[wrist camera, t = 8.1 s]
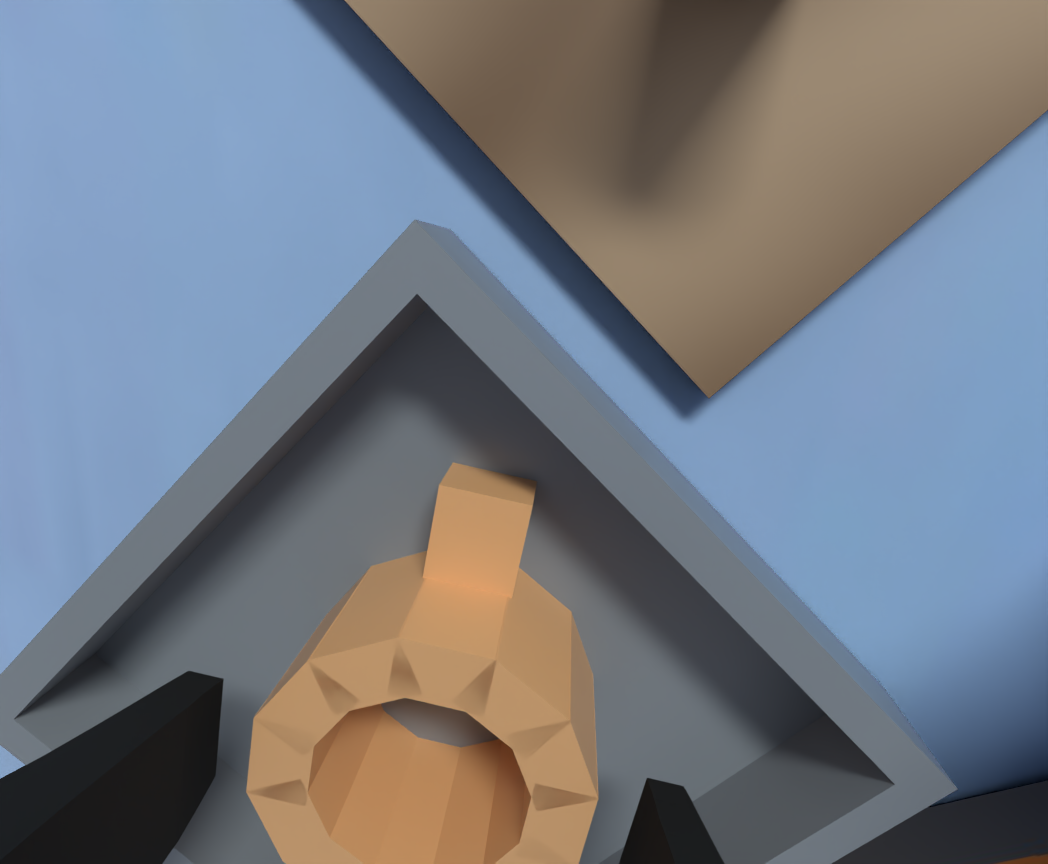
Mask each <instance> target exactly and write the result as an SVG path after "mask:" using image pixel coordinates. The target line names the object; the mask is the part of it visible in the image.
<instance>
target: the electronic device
mask: <svg viewBox="0 0 1048 864" xmlns="http://www.w3.org/2000/svg"><path fill="white" fill-rule="evenodd" d="M831 864H1048V781H1043V782H1039V783H1035V784H1030V785H1026V786H1021V787H1017V788H1013V789H1008V790H1004V791H999V792H995V793H991V794H986V795H982V796H977V797H973V798H969V799H964V800H960V801H955V802H951V803H947V804H942V805H938V806H933V807H929V808H925V809H923V810H922V811H920V812H918V813H917V814H915V815H913V816H911V817H910V818H908V819H906V820H905V821H903V822H901V823H900V824H898V825H896V826H894V827H893V828H891V829H889V830H888V831H886V832H884V833H883V834H881V835H879V836H877V837H876V838H874V839H872V840H871V841H869V842H867V843H866V844H864V845H862V846H860V847H859V848H857V849H855V850H854V851H852V852H850V853H848V854H847V855H845V856H843V857H842V858H840V859H838V860H837V861H835V862H833V863H831Z"/></svg>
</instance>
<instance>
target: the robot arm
mask: <svg viewBox="0 0 1048 864" xmlns="http://www.w3.org/2000/svg"><path fill="white" fill-rule="evenodd" d="M223 681H224V679H223V678H218V677H214V676H210V675H206V674H201V673H197V672H193V671H187V672H185V673H184V674H182V675H180V676H178V677H177V678H175V679H173V680H171V681H170V682H168V683H166V684H165V685H163V686H161V687H160V688H158V689H156V690H155V691H153V692H151V693H149V694H148V695H146V696H144V697H143V698H141V699H139V700H138V701H136V702H134V703H133V704H131V705H129V706H128V707H126V708H124V709H123V710H121V711H119V712H118V713H116V714H114V715H113V716H111V717H109V718H108V719H106V720H104V721H103V722H101V723H99V724H97V725H96V726H94V727H92V728H91V729H89V730H87V731H85V732H84V733H82V734H80V735H78V736H77V737H75V738H73V739H71V740H70V741H68V742H66V743H65V744H63V745H61V746H59V747H58V748H56V749H54V750H52V751H51V752H49V753H47V754H45V755H44V756H42V757H40V758H38V759H36V760H35V761H33V762H31V763H29V764H27V765H25V766H23V767H21V768H20V769H18V770H16V771H14V772H12V773H10V774H8V775H6V776H5V777H3V778H1V779H0V864H163V862H164V861H165V859H166V858H167V856H168V855H169V854H170V852H171V851H172V849H173V848H174V846H175V845H176V844H177V842H178V841H179V839H180V837H181V836H182V834H183V832H184V831H185V829H186V827H187V825H188V824H189V822H190V820H191V819H192V817H193V815H194V814H195V812H196V810H197V808H198V806H199V805H200V803H201V801H202V799H203V798H204V796H205V794H206V792H207V790H208V789H209V787H210V785H211V783H212V781H213V780H214V778H215V776H216V765H217V753H218V741H219V729H220V717H221V705H222V693H223ZM619 864H725V863H724V861H723V860H722V858H721V856H720V854H719V852H718V850H717V848H716V846H715V845H714V843H713V841H712V839H711V837H710V835H709V833H708V831H707V829H706V827H705V825H704V823H703V822H702V820H701V818H700V816H699V814H698V812H697V810H696V808H695V806H694V804H693V802H692V800H691V798H690V796H689V795H688V793H687V791H686V789H685V788H684V786H681V785H677V784H672V783H668V782H664V781H660V780H655V779H651V778H647V779H646V782H645V785H644V788H643V791H642V794H641V797H640V800H639V803H638V806H637V809H636V813H635V816H634V819H633V822H632V825H631V828H630V831H629V834H628V837H627V840H626V843H625V846H624V849H623V852H622V855H621V858H620V862H619Z"/></svg>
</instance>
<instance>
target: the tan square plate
mask: <svg viewBox="0 0 1048 864" xmlns="http://www.w3.org/2000/svg"><path fill="white" fill-rule="evenodd" d="M344 1H345V2H346V3H347V4H348V5H349V6H350V7H351V8H352V9H353V11H354V12H355V13H356V14H357V15H358V16H359V17H360V18H361V19H362V20H363V21H364V23H365V24H366V25H367V26H368V27H369V28H370V29H371V30H372V31H373V32H374V33H375V35H376V36H377V37H378V38H379V39H380V40H381V41H382V42H383V43H384V44H385V45H386V47H387V48H388V49H389V50H390V51H391V52H392V53H393V54H394V55H395V56H396V57H397V59H398V60H399V61H400V62H401V63H402V64H403V65H404V66H405V67H406V68H407V69H408V71H409V72H410V73H411V74H412V75H413V76H414V77H415V78H416V79H417V80H418V82H419V83H420V84H421V85H422V86H423V87H424V88H425V89H426V90H427V91H428V92H429V94H430V95H431V96H432V97H433V98H434V99H435V100H436V101H437V102H438V103H439V104H440V106H441V107H442V108H443V109H444V110H445V111H446V112H447V113H448V114H449V115H450V116H451V118H452V119H453V120H454V121H455V122H456V123H457V124H458V125H459V126H460V127H461V128H462V130H463V131H464V132H465V133H466V134H467V135H468V136H469V137H470V138H471V139H472V140H473V142H474V143H475V144H476V145H477V146H478V147H479V148H480V149H481V150H482V151H483V153H484V154H485V155H486V156H487V157H488V158H489V159H490V160H491V161H492V162H493V163H494V165H495V166H496V167H497V168H498V169H499V170H500V171H501V172H502V173H503V174H504V175H505V177H506V178H507V179H508V180H509V181H510V182H511V183H512V184H513V185H514V186H515V187H516V189H517V190H518V191H519V192H520V193H521V194H522V195H523V196H524V197H525V198H526V199H527V201H528V202H529V203H530V204H531V205H532V206H533V207H534V208H535V209H536V210H537V211H538V213H539V214H540V215H541V216H542V217H543V218H544V219H545V220H546V221H547V222H548V223H549V225H550V226H551V227H552V228H553V229H554V230H555V231H556V232H557V233H558V234H559V236H560V237H561V238H562V239H563V240H564V241H565V242H566V243H567V244H568V245H569V246H570V248H571V249H572V250H573V251H574V252H575V253H576V254H577V255H578V256H579V257H580V258H581V260H582V261H583V262H584V263H585V264H586V265H587V266H588V267H589V268H590V269H591V270H592V272H593V273H594V274H595V275H596V276H597V277H598V278H599V279H600V280H601V281H602V282H603V284H604V285H605V286H606V287H607V288H608V289H609V290H610V291H611V292H612V293H613V294H614V296H615V297H616V298H617V299H618V300H619V301H620V302H621V303H622V304H623V305H624V306H625V308H626V309H627V310H628V311H629V312H630V313H631V314H632V315H633V316H634V317H635V319H636V320H637V321H638V322H639V323H640V324H641V325H642V326H643V327H644V328H645V329H646V331H647V332H648V333H649V334H650V335H651V336H652V337H653V338H654V339H655V340H656V341H657V343H658V344H659V345H660V346H661V347H662V348H663V349H664V350H665V351H666V352H667V353H668V355H669V356H670V357H671V358H672V359H673V360H674V361H675V362H676V363H677V364H678V365H679V367H680V368H681V369H682V370H683V371H684V372H685V373H686V374H687V375H688V376H689V377H690V379H691V380H692V381H693V382H694V383H695V384H696V385H697V386H698V387H699V388H700V390H701V391H702V392H703V393H704V394H705V395H706V396H707V397H708V398H710V397H711V396H712V395H714V394H715V393H716V392H717V391H718V390H719V389H721V388H722V387H723V386H724V385H725V384H726V383H728V382H729V381H730V380H731V379H732V378H733V377H735V376H736V375H737V374H738V373H739V372H741V371H742V370H743V369H744V368H745V367H746V366H748V365H749V364H750V363H751V362H752V361H753V360H755V359H756V358H757V357H758V356H759V355H760V354H762V353H763V352H764V351H765V350H766V349H768V348H769V347H770V346H771V345H772V344H773V343H775V342H776V341H777V340H778V339H779V338H780V337H782V336H783V335H784V334H785V333H786V332H788V331H789V330H790V329H791V328H792V327H793V326H795V325H796V324H797V323H798V322H799V321H800V320H802V319H803V318H804V317H805V316H806V315H807V314H809V313H810V312H811V311H812V310H813V309H815V308H816V307H817V306H818V305H819V304H820V303H822V302H823V301H824V300H825V299H826V298H827V297H829V296H830V295H831V294H832V293H833V292H834V291H836V290H837V289H838V288H839V287H840V286H842V285H843V284H844V283H845V282H846V281H847V280H849V279H850V278H851V277H852V276H853V275H854V274H856V273H857V272H858V271H859V270H860V269H861V268H863V267H864V266H865V265H866V264H867V263H869V262H870V261H871V260H872V259H873V258H874V257H876V256H877V255H878V254H879V253H880V252H881V251H883V250H884V249H885V248H886V247H887V246H888V245H890V244H891V243H892V242H893V241H894V240H896V239H897V238H898V237H899V236H900V235H901V234H903V233H904V232H905V231H906V230H907V229H908V228H910V227H911V226H912V225H913V224H914V223H915V222H917V221H918V220H919V219H920V218H921V217H923V216H924V215H925V214H926V213H927V212H928V211H930V210H931V209H932V208H933V207H934V206H935V205H937V204H938V203H939V202H940V201H941V200H942V199H944V198H945V197H946V196H947V195H948V194H950V193H951V192H952V191H953V190H954V189H955V188H957V187H958V186H959V185H960V184H961V183H962V182H964V181H965V180H966V179H967V178H968V177H969V176H971V175H972V174H973V173H974V172H975V171H977V170H978V169H979V168H980V167H981V166H982V165H984V164H985V163H986V162H987V161H988V160H989V159H991V158H992V157H993V156H994V155H995V154H997V153H998V152H999V151H1000V150H1001V149H1002V148H1004V147H1005V146H1006V145H1007V144H1008V143H1009V142H1011V141H1012V140H1013V139H1014V138H1015V137H1016V136H1018V135H1019V134H1020V133H1021V132H1022V131H1024V130H1025V129H1026V128H1027V127H1028V126H1029V125H1031V124H1032V123H1033V122H1034V121H1035V120H1036V119H1038V118H1039V117H1040V116H1041V115H1042V114H1043V113H1045V112H1046V111H1047V110H1048V0H344Z"/></svg>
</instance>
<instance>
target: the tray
mask: <svg viewBox="0 0 1048 864" xmlns="http://www.w3.org/2000/svg"><path fill="white" fill-rule="evenodd" d="M452 463H458V464H462V465H467V466H471V467H476V468H480V469H485V470H489V471H493V472H498V473H502V474H507V475H511V476H516V477H520V478H525V479H529V480H534V481H537V484H536V490H535V496H534V502H533V507H532V511H531V516H530V520H529V525H528V529H527V533H526V538H525V542H524V547H523V551H522V555H521V560H520V564H519V568H521V569H522V570H523V571H524V572H525V573H526V574H528V575H529V576H530V577H531V578H532V579H533V580H535V581H536V582H537V583H538V584H539V585H541V586H542V587H543V588H544V589H545V590H546V591H548V592H549V593H550V594H551V595H552V596H554V597H555V598H556V599H557V600H558V601H559V602H561V603H562V604H563V605H564V606H565V607H567V608H568V609H569V610H570V611H571V612H572V615H573V618H574V621H575V624H576V627H577V630H578V633H579V636H580V638H581V641H582V644H583V647H584V650H585V653H586V656H587V659H588V662H589V665H590V667H591V670H592V673H593V685H594V708H595V730H596V753H597V776H598V798H599V800H598V801H597V805H596V808H595V811H594V815H593V818H592V821H591V825H590V828H589V831H588V834H587V838H586V841H585V844H584V848H583V851H582V854H581V858H580V861H579V864H619V862H620V858H621V855H622V852H623V849H624V846H625V843H626V840H627V837H628V834H629V831H630V828H631V825H632V822H633V819H634V816H635V813H636V809H637V806H638V803H639V800H640V797H641V794H642V791H643V788H644V785H645V782H646V779H647V778H651V779H655V780H660V781H664V782H668V783H672V784H677V785H681V786H684V788H685V789H686V791H687V793H688V795H689V796H690V798H691V800H692V802H693V804H694V806H695V808H696V810H697V812H698V814H699V816H700V818H701V820H702V822H703V823H704V825H705V827H706V829H707V831H708V833H709V835H710V837H711V839H712V841H713V843H714V845H715V846H716V848H717V850H718V852H719V854H720V856H721V858H722V860H723V861H724V863H725V864H831V863H833V862H835V861H837V860H838V859H840V858H842V857H843V856H845V855H847V854H848V853H850V852H852V851H854V850H855V849H857V848H859V847H860V846H862V845H864V844H866V843H867V842H869V841H871V840H872V839H874V838H876V837H877V836H879V835H881V834H883V833H884V832H886V831H888V830H889V829H891V828H893V827H894V826H896V825H898V824H900V823H901V822H903V821H905V820H906V819H908V818H910V817H911V816H913V815H915V814H917V813H918V812H920V811H922V810H923V809H925V808H927V807H929V806H930V805H932V804H934V803H935V802H937V801H939V800H940V799H942V798H944V797H946V796H947V795H949V794H951V793H952V792H954V791H956V790H957V787H956V786H955V784H954V783H953V782H952V780H951V779H950V778H949V776H948V775H947V773H946V772H945V771H944V769H943V768H942V767H941V765H940V764H939V762H938V761H937V760H936V758H935V757H934V756H933V754H932V753H931V751H930V750H929V749H928V747H927V746H926V745H925V743H924V742H923V741H922V739H921V738H920V736H919V735H918V734H917V732H916V731H915V730H914V728H913V727H912V725H911V724H910V723H909V721H908V720H907V719H906V717H905V716H904V714H903V713H902V712H901V710H900V709H899V708H898V706H897V705H896V703H895V702H894V701H893V699H892V698H891V697H890V695H889V694H888V693H887V691H886V690H885V688H884V687H883V686H882V685H881V684H880V683H879V682H878V681H877V680H876V679H875V678H874V677H873V676H872V675H871V674H870V673H869V671H868V670H867V669H866V668H865V667H864V666H863V665H862V664H861V663H860V662H859V661H858V660H857V659H856V658H855V657H854V656H853V655H852V653H851V652H850V651H849V650H848V649H847V648H846V647H845V646H844V645H843V644H842V643H841V642H840V641H839V640H838V639H837V638H836V637H835V636H834V634H833V633H832V632H831V631H830V630H829V629H828V628H827V627H826V626H825V625H824V624H823V623H822V622H821V621H820V620H819V619H818V618H817V616H816V615H815V614H814V613H813V612H812V611H811V610H810V609H809V608H808V607H807V606H806V605H805V604H804V603H803V602H802V601H801V600H800V599H799V597H798V596H797V595H796V594H795V593H794V592H793V591H792V590H791V589H790V588H789V587H788V586H787V585H786V584H785V583H784V582H783V581H782V579H781V578H780V577H779V576H778V575H777V574H776V573H775V572H774V571H773V570H772V569H771V568H770V567H769V566H768V565H767V564H766V563H765V562H764V560H763V559H762V558H761V557H760V556H759V555H758V554H757V553H756V552H755V551H754V550H753V549H752V548H751V547H750V546H749V545H748V544H747V542H746V541H745V540H744V539H743V538H742V537H741V536H740V535H739V534H738V533H737V532H736V531H735V530H734V529H733V528H732V527H731V526H730V525H729V523H728V522H727V521H726V520H725V519H724V518H723V517H722V516H721V515H720V514H719V513H718V512H717V511H716V510H715V509H714V508H713V507H712V505H711V504H710V503H709V502H708V501H707V500H706V499H705V498H704V497H703V496H702V495H701V494H700V493H699V492H698V491H697V490H696V489H695V488H694V486H693V485H692V484H691V483H690V482H689V481H688V480H687V479H686V478H685V477H684V476H683V475H682V474H681V473H680V472H679V471H678V470H677V468H676V467H675V466H674V465H673V464H672V463H671V462H670V461H669V460H668V459H667V458H666V457H665V456H664V455H663V454H662V453H661V452H660V451H659V449H658V448H657V447H656V446H655V445H654V444H653V443H652V442H651V441H650V440H649V439H648V438H647V437H646V436H645V435H644V434H643V433H642V431H641V430H640V429H639V428H638V427H637V426H636V425H635V424H634V423H633V422H632V421H631V420H630V419H629V418H628V417H627V416H626V415H625V413H624V412H623V411H622V410H621V409H620V408H619V407H618V406H617V405H616V404H615V403H614V402H613V401H612V400H611V399H610V398H609V397H608V396H607V394H606V393H605V392H604V391H603V390H602V389H601V388H600V387H599V386H598V385H597V384H596V383H595V382H594V381H593V380H592V379H591V378H590V376H589V375H588V374H587V373H586V372H585V371H584V370H583V369H582V368H581V367H580V366H579V365H578V364H577V363H576V362H575V361H574V360H573V359H572V357H571V356H570V355H569V354H568V353H567V352H566V351H565V350H564V349H563V348H562V347H561V346H560V345H559V344H558V343H557V342H556V341H555V339H554V338H553V337H552V336H551V335H550V334H549V333H548V332H547V331H546V330H545V329H544V328H543V327H542V326H541V325H540V324H539V323H538V322H537V320H536V319H535V318H534V317H533V316H532V315H531V314H530V313H529V312H528V311H527V310H526V309H525V308H524V307H523V306H522V305H521V304H520V302H519V301H518V300H517V299H516V298H515V297H514V296H513V295H512V294H511V293H510V292H509V291H508V290H507V289H506V288H505V287H504V286H503V285H502V283H501V282H500V281H499V280H498V279H497V278H496V277H495V276H494V275H493V274H492V273H491V272H490V271H489V270H488V269H487V268H486V267H485V265H484V264H483V263H482V262H481V261H480V260H479V259H478V258H477V257H476V256H475V255H474V254H473V253H472V252H471V251H470V250H469V249H468V248H467V246H466V245H465V244H464V243H463V242H462V241H461V240H460V239H459V238H458V237H457V236H456V235H455V234H454V233H453V232H452V231H451V230H450V229H447V228H443V227H440V226H436V225H433V224H429V223H425V222H422V221H418V220H414V221H413V222H412V223H411V224H410V225H409V226H408V228H407V229H406V230H405V231H404V232H403V233H402V234H401V235H400V236H399V237H398V239H397V240H396V241H395V242H394V243H393V244H392V245H391V246H390V247H389V248H388V250H387V251H386V252H385V253H384V254H383V255H382V256H381V257H380V258H379V259H378V261H377V262H376V263H375V264H374V265H373V266H372V267H371V268H370V269H369V270H368V272H367V273H366V274H365V275H364V276H363V277H362V278H361V279H360V280H359V281H358V283H357V284H356V285H355V286H354V287H353V288H352V289H351V290H350V291H349V292H348V294H347V295H346V296H345V297H344V298H343V299H342V300H341V301H340V302H339V303H338V304H337V306H336V307H335V308H334V309H333V310H332V311H331V312H330V313H329V314H328V315H327V317H326V318H325V319H324V320H323V321H322V322H321V323H320V324H319V325H318V326H317V328H316V329H315V330H314V331H313V332H312V333H311V334H310V335H309V336H308V337H307V339H306V340H305V341H304V342H303V343H302V344H301V345H300V346H299V347H298V348H297V350H296V351H295V352H294V353H293V354H292V355H291V356H290V357H289V358H288V359H287V361H286V362H285V363H284V364H283V365H282V366H281V367H280V368H279V369H278V370H277V372H276V373H275V374H274V375H273V376H272V377H271V378H270V379H269V380H268V381H267V382H266V384H265V385H264V386H263V387H262V388H261V389H260V390H259V391H258V392H257V393H256V395H255V396H254V397H253V398H252V399H251V400H250V401H249V402H248V403H247V404H246V406H245V407H244V408H243V409H242V410H241V411H240V412H239V413H238V414H237V415H236V417H235V418H234V419H233V420H232V421H231V422H230V423H229V424H228V425H227V426H226V428H225V429H224V430H223V431H222V432H221V433H220V434H219V435H218V436H217V437H216V439H215V440H214V441H213V442H212V443H211V444H210V445H209V446H208V447H207V448H206V450H205V451H204V452H203V453H202V454H201V455H200V456H199V457H198V458H197V459H196V461H195V462H194V463H193V464H192V465H191V466H190V467H189V468H188V469H187V470H186V471H185V473H184V474H183V475H182V476H181V477H180V478H179V479H178V480H177V481H176V482H175V484H174V485H173V486H172V487H171V488H170V489H169V490H168V491H167V492H166V493H165V495H164V496H163V497H162V498H161V499H160V500H159V501H158V502H157V503H156V504H155V506H154V507H153V508H152V509H151V510H150V511H149V512H148V513H147V514H146V515H145V517H144V518H143V519H142V520H141V521H140V522H139V523H138V524H137V525H136V526H135V528H134V529H133V530H132V531H131V532H130V533H129V534H128V535H127V536H126V537H125V539H124V540H123V541H122V542H121V543H120V544H119V545H118V546H117V547H116V548H115V550H114V551H113V552H112V553H111V554H110V555H109V556H108V557H107V558H106V559H105V560H104V562H103V563H102V564H101V565H100V566H99V567H98V568H97V569H96V570H95V571H94V573H93V574H92V575H91V576H90V577H89V578H88V579H87V580H86V581H85V582H84V584H83V585H82V586H81V587H80V588H79V589H78V590H77V591H76V592H75V593H74V595H73V596H72V597H71V598H70V599H69V600H68V601H67V602H66V603H65V604H64V606H63V607H62V608H61V609H60V610H59V611H58V612H57V613H56V614H55V615H54V617H53V618H52V619H51V620H50V621H49V622H48V623H47V624H46V625H45V626H44V628H43V629H42V630H41V631H40V632H39V633H38V634H37V635H36V636H35V637H34V639H33V640H32V641H31V642H30V643H29V644H28V645H27V646H26V647H25V648H24V649H23V651H22V652H21V653H20V654H19V655H18V656H17V657H16V658H15V659H14V660H13V662H12V663H11V664H10V665H9V666H8V667H7V668H6V669H5V670H4V671H3V673H2V674H1V675H0V745H1V746H2V747H3V748H5V749H6V750H7V751H9V752H10V753H11V754H12V755H14V756H15V757H16V758H17V759H19V760H20V761H21V762H23V763H24V764H25V765H27V764H29V763H31V762H33V761H35V760H36V759H38V758H40V757H42V756H44V755H45V754H47V753H49V752H51V751H52V750H54V749H56V748H58V747H59V746H61V745H63V744H65V743H66V742H68V741H70V740H71V739H73V738H75V737H77V736H78V735H80V734H82V733H84V732H85V731H87V730H89V729H91V728H92V727H94V726H96V725H97V724H99V723H101V722H103V721H104V720H106V719H108V718H109V717H111V716H113V715H114V714H116V713H118V712H119V711H121V710H123V709H124V708H126V707H128V706H129V705H131V704H133V703H134V702H136V701H138V700H139V699H141V698H143V697H144V696H146V695H148V694H149V693H151V692H153V691H155V690H156V689H158V688H160V687H161V686H163V685H165V684H166V683H168V682H170V681H171V680H173V679H175V678H177V677H178V676H180V675H182V674H184V673H185V672H187V671H193V672H197V673H201V674H206V675H210V676H214V677H218V678H223V679H224V681H223V693H222V705H221V717H220V729H219V741H218V753H217V765H216V776H215V778H214V780H213V781H212V783H211V785H210V787H209V789H208V790H207V792H206V794H205V796H204V798H203V799H202V801H201V803H200V805H199V806H198V808H197V810H196V812H195V814H194V815H193V817H192V819H191V820H190V822H189V824H188V825H187V827H186V829H185V831H184V832H183V834H182V836H181V837H180V839H179V841H178V842H177V844H176V845H175V846H174V848H173V849H172V851H171V852H170V854H169V855H168V856H167V858H166V859H165V861H164V862H163V864H286V863H284V862H283V861H282V859H281V857H280V855H279V853H278V852H277V850H276V848H275V846H274V844H273V842H272V840H271V838H270V836H269V834H268V832H267V831H266V829H265V827H264V825H263V823H262V821H261V819H260V817H259V815H258V813H257V812H256V810H255V808H254V806H253V804H252V802H251V800H250V798H249V796H248V794H247V793H246V789H247V779H248V769H249V759H250V749H251V739H252V730H253V720H254V719H253V718H254V716H255V715H256V714H257V712H258V711H259V709H260V708H261V706H262V705H263V704H264V702H265V701H266V699H267V698H268V697H269V695H270V694H271V692H272V691H273V690H274V688H275V687H276V685H277V684H278V682H279V681H280V680H281V678H282V677H283V675H284V674H285V673H286V671H287V670H288V668H289V667H290V666H291V664H292V663H293V661H294V660H295V658H296V657H297V656H298V654H299V653H300V651H301V650H302V649H303V647H304V646H305V644H306V643H307V642H308V640H309V639H310V637H311V636H312V634H313V633H314V632H315V630H316V629H317V627H318V626H319V625H320V623H321V622H322V620H323V619H324V618H325V616H326V615H327V613H329V611H330V610H331V609H332V608H333V607H334V606H335V605H336V604H337V603H338V602H339V601H340V600H341V598H342V597H343V596H344V595H345V594H346V593H347V592H348V591H349V590H350V589H351V588H352V587H353V585H354V584H355V583H356V582H357V581H358V580H359V579H360V578H361V577H362V576H363V575H364V574H365V572H366V571H367V570H368V569H369V568H370V567H371V566H373V565H377V564H381V563H384V562H388V561H391V560H395V559H399V558H402V557H406V556H410V555H413V554H417V553H421V552H424V551H427V550H428V544H429V539H430V533H431V528H432V522H433V516H434V511H435V505H436V500H437V494H438V489H439V484H440V483H441V481H442V479H443V478H444V476H445V474H446V473H447V471H448V470H449V468H450V466H451V465H452ZM381 705H382V707H383V710H384V711H385V712H386V713H387V714H389V715H390V716H391V717H393V718H394V719H395V720H396V721H398V722H399V723H400V724H401V725H403V726H404V727H405V728H407V729H408V730H409V731H410V732H412V733H413V734H414V735H416V736H417V737H418V738H423V739H427V740H431V741H435V742H440V743H444V744H448V745H453V746H457V747H465V746H470V745H474V744H479V743H483V742H488V741H493V740H497V739H499V738H498V737H497V736H495V735H494V734H493V733H492V732H490V731H489V730H488V729H487V728H485V727H484V726H483V725H482V724H480V723H479V722H478V721H477V720H475V719H474V718H473V717H472V716H470V715H469V714H468V713H467V712H464V711H460V710H456V709H452V708H447V707H443V706H439V705H434V704H430V703H426V702H421V701H417V700H413V699H408V698H402V699H398V700H394V701H389V702H385V703H381Z"/></svg>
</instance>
